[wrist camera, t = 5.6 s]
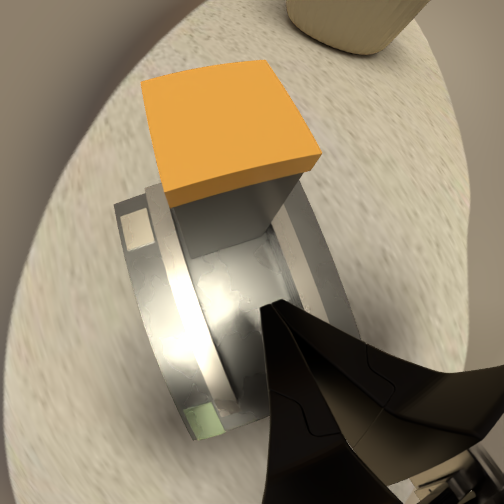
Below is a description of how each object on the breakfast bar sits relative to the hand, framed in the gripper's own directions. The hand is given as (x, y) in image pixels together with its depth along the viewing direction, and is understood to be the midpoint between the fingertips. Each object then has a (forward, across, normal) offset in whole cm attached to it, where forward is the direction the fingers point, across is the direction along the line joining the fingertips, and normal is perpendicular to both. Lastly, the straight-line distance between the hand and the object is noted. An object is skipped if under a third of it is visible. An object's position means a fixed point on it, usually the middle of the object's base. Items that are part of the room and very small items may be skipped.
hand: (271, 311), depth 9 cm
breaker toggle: (+7, 0, -1) cm, 8 cm away
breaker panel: (+5, 0, +5) cm, 7 cm away
